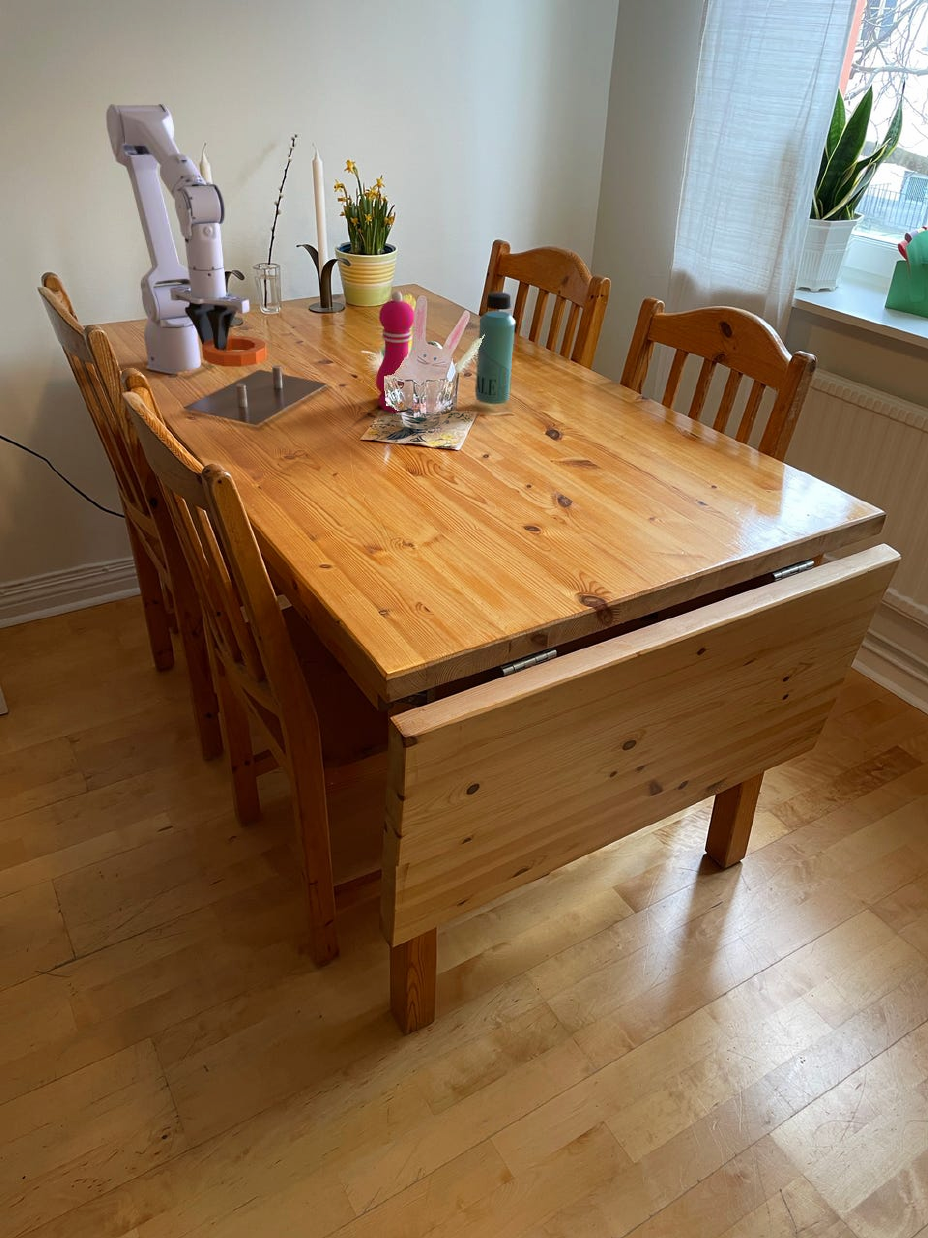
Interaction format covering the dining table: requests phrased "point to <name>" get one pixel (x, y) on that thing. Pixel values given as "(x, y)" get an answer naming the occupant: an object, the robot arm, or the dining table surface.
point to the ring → (249, 356)
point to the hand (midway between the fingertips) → (214, 348)
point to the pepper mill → (394, 340)
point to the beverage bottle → (495, 351)
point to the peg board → (256, 396)
